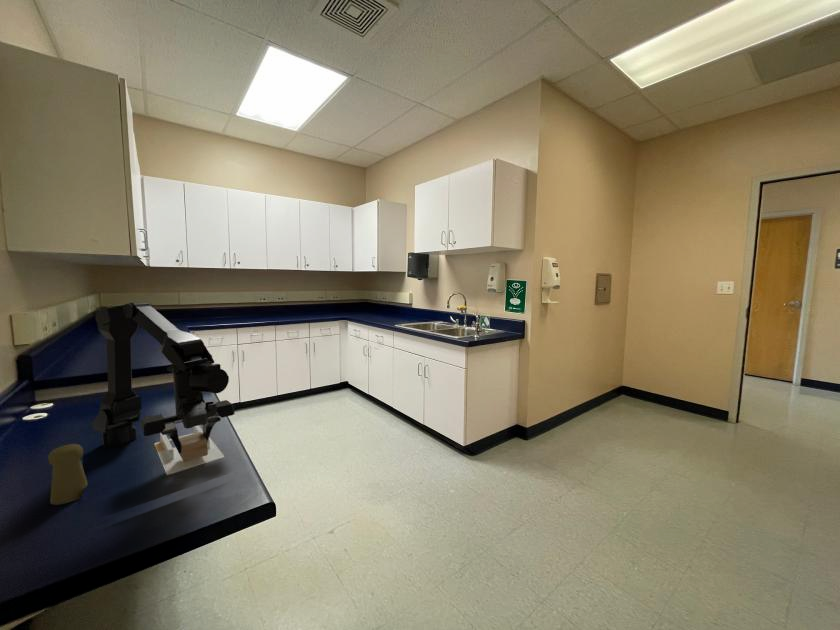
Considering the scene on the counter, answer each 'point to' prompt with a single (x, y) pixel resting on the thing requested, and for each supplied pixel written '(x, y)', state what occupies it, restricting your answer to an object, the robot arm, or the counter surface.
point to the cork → (67, 474)
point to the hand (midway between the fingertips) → (192, 449)
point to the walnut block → (193, 446)
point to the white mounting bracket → (173, 459)
